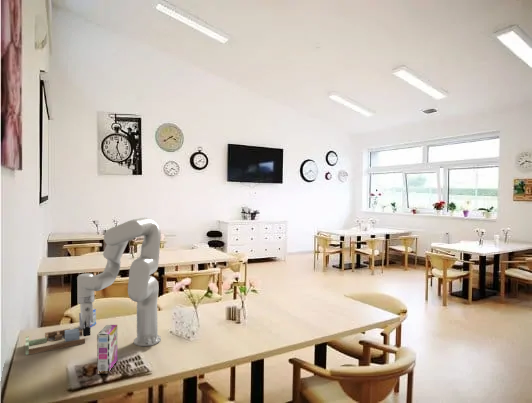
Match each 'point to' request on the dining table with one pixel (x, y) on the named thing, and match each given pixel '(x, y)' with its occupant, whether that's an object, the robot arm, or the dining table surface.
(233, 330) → the dining table surface
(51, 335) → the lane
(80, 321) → the medicine box
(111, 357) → the candy bar box
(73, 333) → the block
